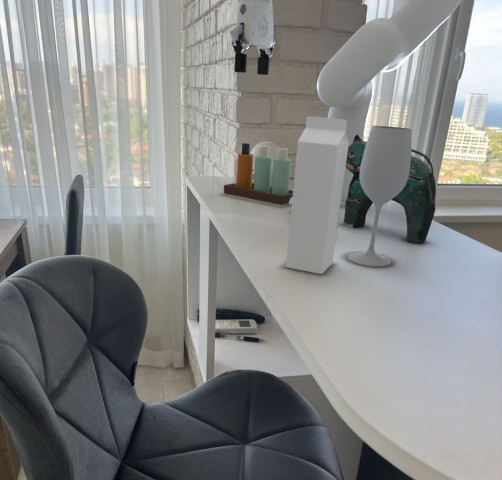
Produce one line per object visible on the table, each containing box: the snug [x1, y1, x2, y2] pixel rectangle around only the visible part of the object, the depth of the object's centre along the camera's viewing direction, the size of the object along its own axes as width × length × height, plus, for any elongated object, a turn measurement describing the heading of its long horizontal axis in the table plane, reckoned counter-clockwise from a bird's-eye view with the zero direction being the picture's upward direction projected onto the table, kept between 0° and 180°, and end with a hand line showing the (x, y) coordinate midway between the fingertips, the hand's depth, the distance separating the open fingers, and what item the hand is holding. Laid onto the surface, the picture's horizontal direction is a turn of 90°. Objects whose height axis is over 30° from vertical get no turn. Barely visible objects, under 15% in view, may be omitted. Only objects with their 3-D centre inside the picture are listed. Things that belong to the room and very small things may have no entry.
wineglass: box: [347, 125, 413, 268], centre depth 82 cm, size 8×8×21 cm
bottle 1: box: [253, 145, 273, 193], centre depth 125 cm, size 4×4×12 cm
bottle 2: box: [271, 147, 292, 195], centre depth 122 cm, size 4×4×12 cm
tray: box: [223, 182, 293, 206], centre depth 127 cm, size 18×9×3 cm, turn 54°
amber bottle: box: [235, 142, 255, 190], centre depth 128 cm, size 4×4×12 cm
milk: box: [285, 115, 349, 275], centre depth 76 cm, size 6×6×22 cm
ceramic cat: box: [343, 135, 437, 244], centre depth 100 cm, size 20×6×20 cm, turn 45°
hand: (251, 73), depth 128 cm, fingers open, 9 cm apart
